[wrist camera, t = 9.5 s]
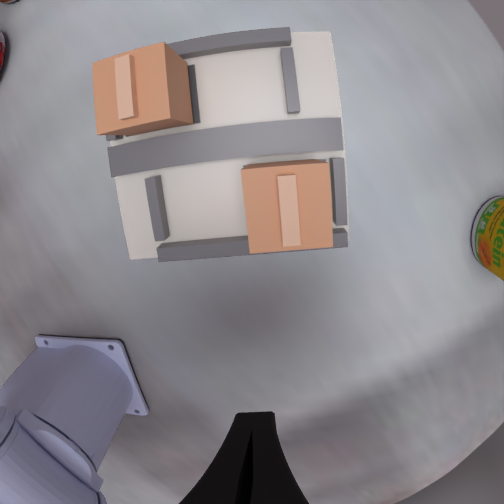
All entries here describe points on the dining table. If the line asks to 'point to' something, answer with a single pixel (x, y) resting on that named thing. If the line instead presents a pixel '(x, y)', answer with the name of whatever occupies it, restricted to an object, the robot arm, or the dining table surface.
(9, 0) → the pill bottle
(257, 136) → the divided tray
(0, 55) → the soda can
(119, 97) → the cardboard box
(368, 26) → the dining table surface
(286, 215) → the orange cube
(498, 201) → the supplement bottle
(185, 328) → the dining table surface
